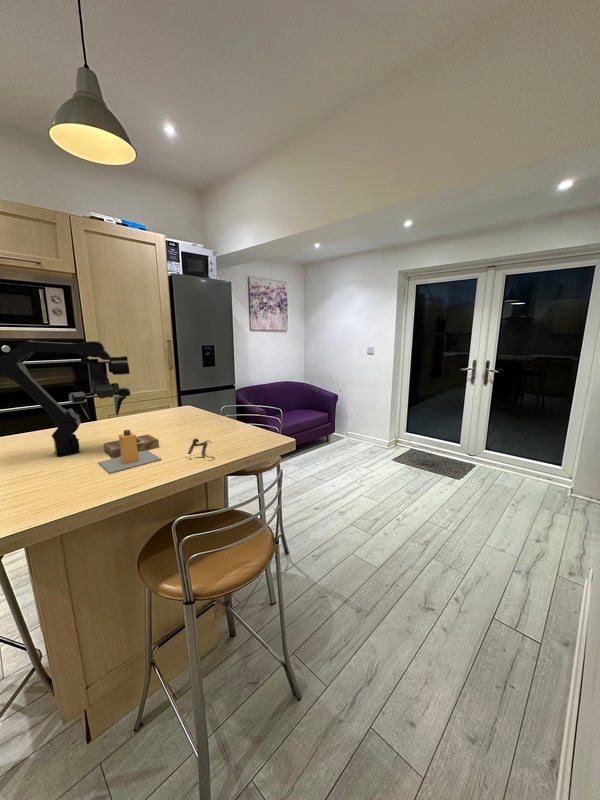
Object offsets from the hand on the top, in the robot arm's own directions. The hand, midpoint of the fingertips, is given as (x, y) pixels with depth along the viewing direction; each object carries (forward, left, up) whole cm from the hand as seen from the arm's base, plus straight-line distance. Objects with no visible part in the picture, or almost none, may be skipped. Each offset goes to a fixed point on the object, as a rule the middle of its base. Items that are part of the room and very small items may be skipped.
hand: (103, 417), depth 121 cm
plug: (+1, -22, -12) cm, 25 cm away
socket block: (+6, -9, -12) cm, 16 cm away
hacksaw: (+24, -29, -13) cm, 40 cm away
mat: (+1, -22, -12) cm, 25 cm away
